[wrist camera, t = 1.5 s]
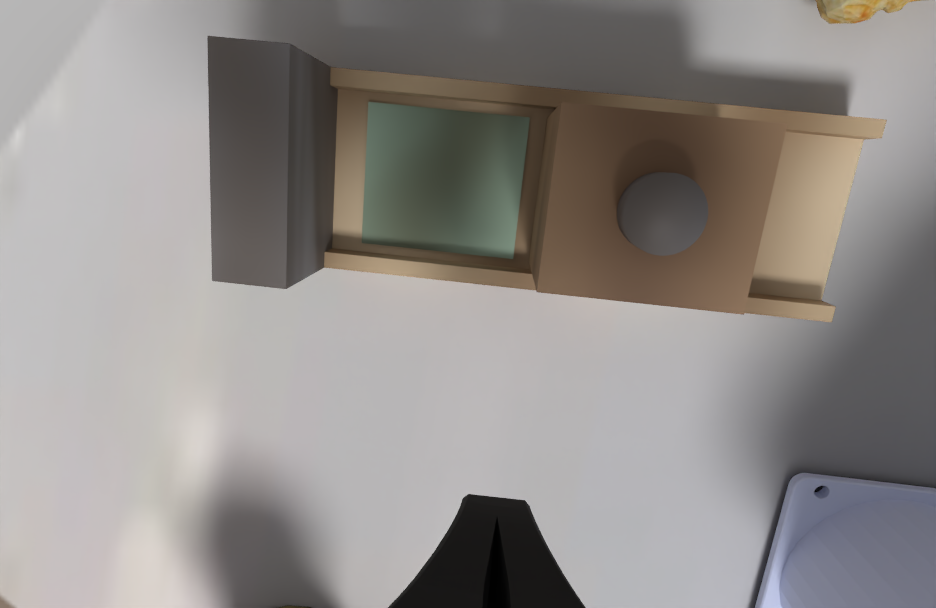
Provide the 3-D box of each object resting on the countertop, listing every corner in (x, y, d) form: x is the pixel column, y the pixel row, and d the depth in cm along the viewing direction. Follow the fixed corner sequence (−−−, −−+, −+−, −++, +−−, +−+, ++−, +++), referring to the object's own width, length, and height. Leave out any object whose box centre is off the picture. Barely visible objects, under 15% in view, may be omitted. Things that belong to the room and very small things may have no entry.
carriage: (713, 134, 16) (806, 121, 11) (685, 278, 18) (759, 323, 12) (546, 118, 17) (565, 97, 12) (528, 261, 18) (538, 299, 13)
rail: (848, 124, 17) (981, 108, 12) (801, 307, 19) (904, 356, 14) (287, 71, 18) (207, 35, 13) (284, 252, 19) (212, 281, 15)
